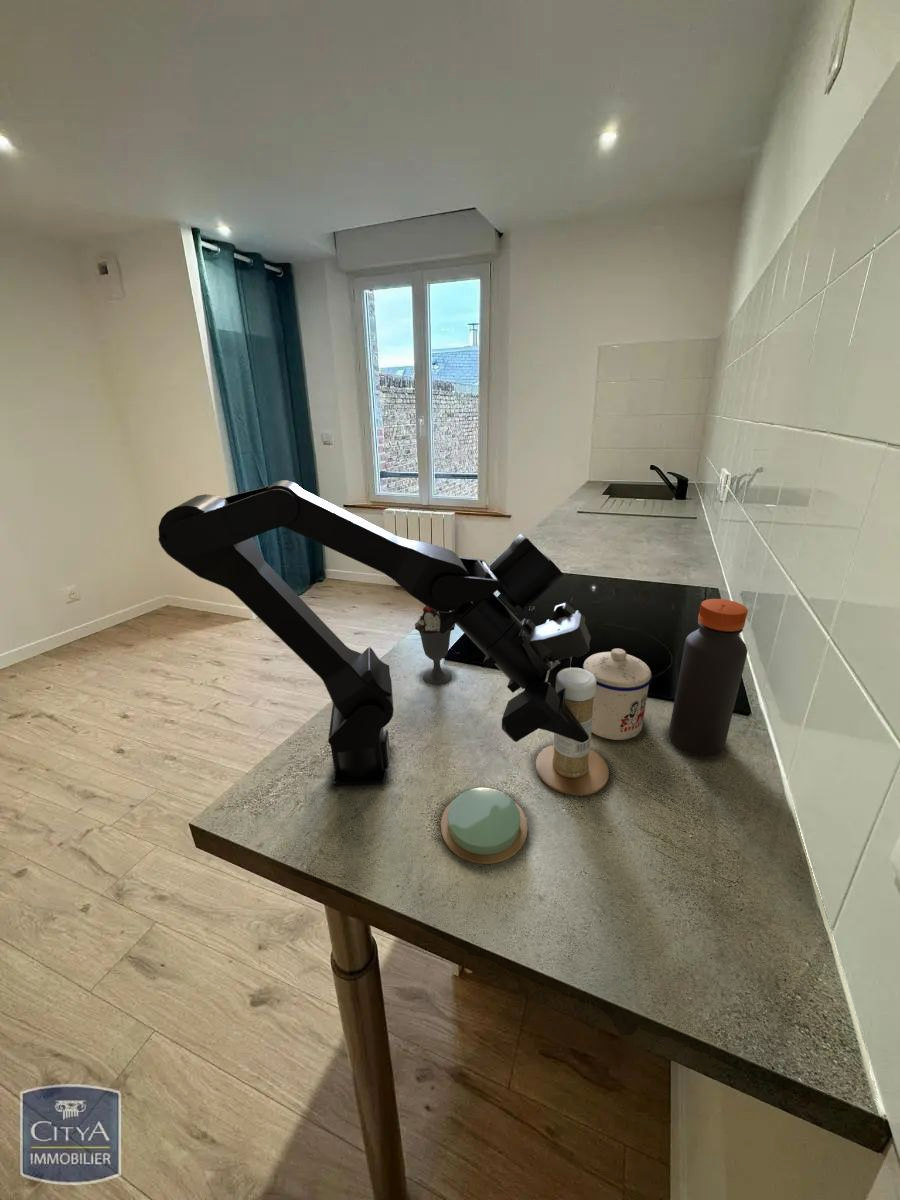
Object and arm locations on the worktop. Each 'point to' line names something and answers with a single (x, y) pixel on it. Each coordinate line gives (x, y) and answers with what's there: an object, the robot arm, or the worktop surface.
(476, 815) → the green flat disc
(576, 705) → the sprinkles bottle
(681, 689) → the vinegar
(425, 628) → the sundae
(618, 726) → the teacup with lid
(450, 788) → the worktop surface
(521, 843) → the saucer coaster
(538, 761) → the coaster
